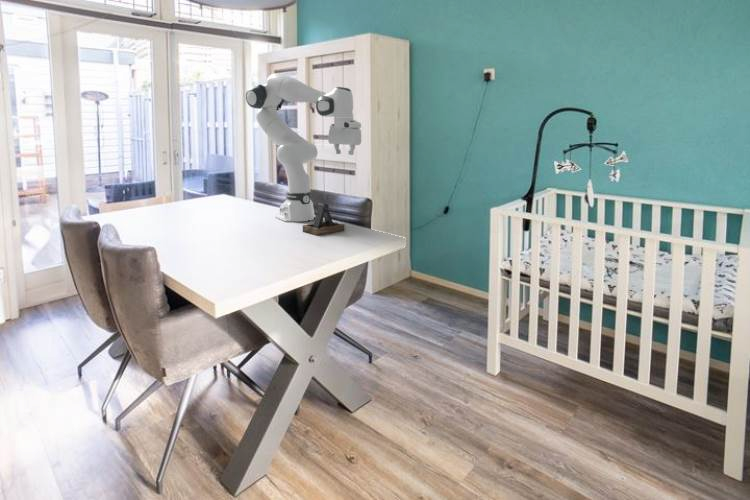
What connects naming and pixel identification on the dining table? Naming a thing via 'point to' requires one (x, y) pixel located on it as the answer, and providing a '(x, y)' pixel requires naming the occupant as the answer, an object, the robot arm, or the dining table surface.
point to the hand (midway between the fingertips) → (344, 154)
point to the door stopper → (320, 214)
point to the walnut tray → (323, 229)
